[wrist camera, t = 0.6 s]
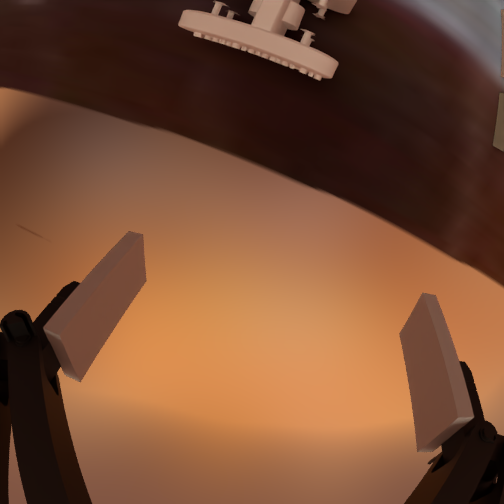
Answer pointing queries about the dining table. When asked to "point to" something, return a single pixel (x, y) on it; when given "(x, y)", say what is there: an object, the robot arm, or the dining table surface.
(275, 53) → the cable organizer
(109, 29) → the dining table surface
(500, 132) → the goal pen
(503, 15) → the channel
